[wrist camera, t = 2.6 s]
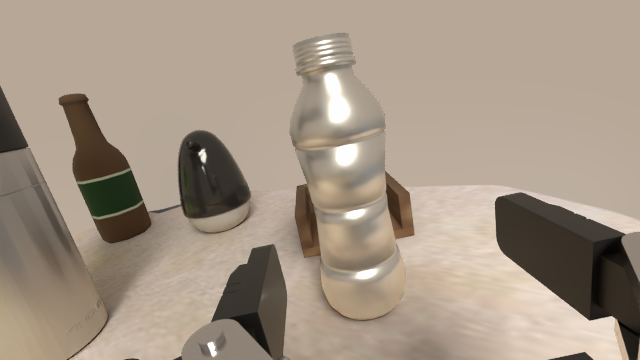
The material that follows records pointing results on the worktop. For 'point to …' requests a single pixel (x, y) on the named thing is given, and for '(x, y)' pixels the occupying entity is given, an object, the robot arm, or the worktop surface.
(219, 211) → the black egg-shaped dispenser
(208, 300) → the worktop surface
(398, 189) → the u rest
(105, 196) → the beer bottle
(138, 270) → the worktop surface
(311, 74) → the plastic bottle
